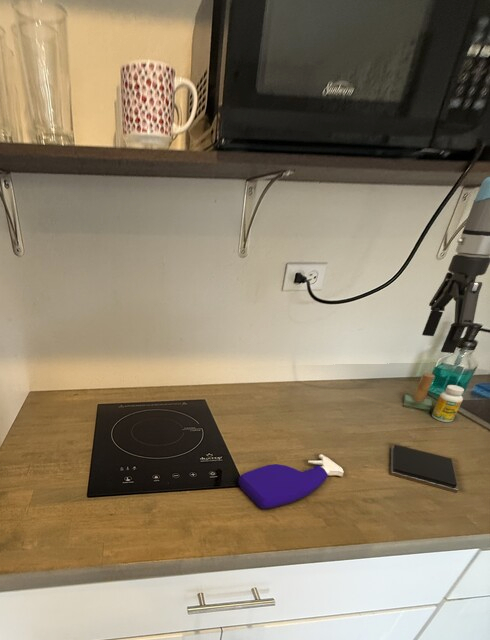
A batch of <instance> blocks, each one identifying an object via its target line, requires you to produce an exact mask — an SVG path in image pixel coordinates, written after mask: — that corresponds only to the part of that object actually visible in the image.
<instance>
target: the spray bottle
mask: <svg viewBox="0 0 490 640" xmlns="http://www.w3.org/2000/svg"><path fill="white" fill-rule="evenodd" d="M318 458H319V459H320V460H308V461H307V463H308V464H313V465H315V466H313V467H312V468H309V469H306V470H303V471H302V470H298V469H296V468H294V467H291V466H288V465H284V464H278V463H273V464H268V465H264V466H261V467H257V468H255V469H251V470H249V471H246V472H244V473H243V474H241V475H240V476H239V477H238V485H239V488H240V489H241V491H242V492H243V493H244V494H245V495H246V496H247V497H248V498H249V499H250V500H251V501H252V502H253V503H254V504H255V505H256V506H257V507H258V508H259V509H260V510H268V509H275V508H277V507H280V506H284V505H288V504H291V503H295V502H296V501H298V500H301V499H303V498H305V497H308V495H310V494H312V493H313V492H314V491H315V490H317V489H318V488H320V487H321V485H322V484H324V482H326V480H327V479H328V478H329V477H328V476H338V477H343V476H344V469H343V468H342V467H341V466H340V465H339V464H337V463H336V462H334V461H333V460H332V459H330V458H329V457H328V456H326V455H324V454H322V453H321V454H319V455H318Z"/></svg>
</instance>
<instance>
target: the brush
mask: <svg viewBox="0 0 490 640" xmlns="http://www.w3.org/2000/svg"><path fill="white" fill-rule="evenodd" d="M434 379H435V375H434V374H432V373H429V372H423V373H422V375H421V377H420V380H419V382H418V385H417V388H416V390H415V392H414V394H413V395H410V394H404V396H403V404H402V408H404V409H405V408H406V409H408V410H409V409H410V410H415V411H419V412H424V413H428V414H429V413H430V412H431V410H432V407H433V402H432V399H430V398H429V399H428V398H427V396H428V393H429V390H430V389H431V386H432V384H433V381H434Z"/></svg>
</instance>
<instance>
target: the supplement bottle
mask: <svg viewBox="0 0 490 640" xmlns="http://www.w3.org/2000/svg"><path fill="white" fill-rule="evenodd" d="M464 391H465V388H464V387H461V386H460V385H455V384H448V385H447V386H446V388H445V391H442V392H440V394H439V397H438V399H437V400H436V404H435V406H434V408H433V411H432V412H431V417H432V418H433V419H435V420H437V421H439V422H443V423H450V422H453V421H454V419H455V416H456V415H457V413H458V411H459V409H460V407H461V405H462V403H463V400H464V397H463V396H462V395H463V394H464Z"/></svg>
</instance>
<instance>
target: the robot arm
mask: <svg viewBox="0 0 490 640" xmlns="http://www.w3.org/2000/svg"><path fill="white" fill-rule="evenodd" d="M456 243H457V245H456V248H455V253H456V254H454V255H452V258H451V261H450V263H449V265H448V269H447V272H446V274H445V276H444V278H443V280H442V282H441V284H440V286H439V287H438V289H437V291H436V292H435V293H434V295H433V296H432V299H431V300H430V302H429V303H428V306H429V307H430V312H429V315H428V318H427V321H426V323H425V325H424V328H423V330H422V333H421V336H426V337H434V336H435V334H436V332H437V329H438V326H439V324H440V322H441V319H442V317H443V314H444V312H445V310H446V308H445V307H447V305H448V304H449V303H450V302H451V301H452V300H453V301H455V303H454V304H455V305H454V306H455V307H454V321H453V322H452V323H451V324H450V328H449V330H448V333H447V335H446V337H445V340H444V341H443V344H442V347H441V349H440V352H441V353H446V354H447V353H448V354H455V351H456V350H457V348H458V345H459V342H460V340H461V339H462V335H463V333H464V331H465V329H466V328H471V327H473V326H474V321H475V316H476V311H477V307H478V301H479V296H480V292H481V289H482V286H483V282H482V281H476V279H477V277H478V276H483V275H485V274H486V273H487V271H488V268H489V266H490V176H488V177H485V179H484V180H483V181H482V182H481V184H480V187H479V188H478V191H477V194H476V196H475V198H474V199H473V202H472V205H471V208H470V210H469V213H468V215H467V219H466V221H465V223H464V227H463V230H462V232H461V235H460V238H458V239H457V240H456Z"/></svg>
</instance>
